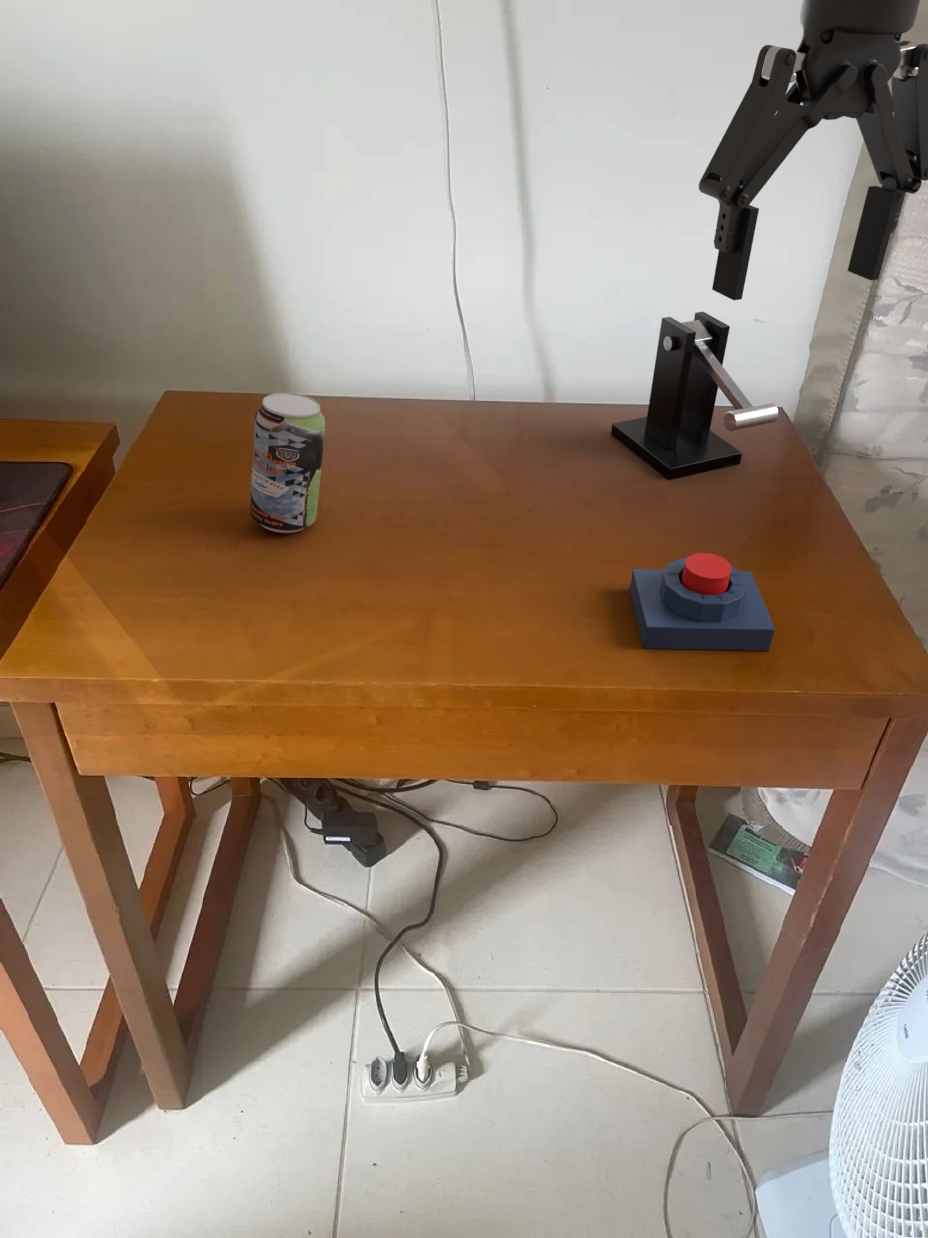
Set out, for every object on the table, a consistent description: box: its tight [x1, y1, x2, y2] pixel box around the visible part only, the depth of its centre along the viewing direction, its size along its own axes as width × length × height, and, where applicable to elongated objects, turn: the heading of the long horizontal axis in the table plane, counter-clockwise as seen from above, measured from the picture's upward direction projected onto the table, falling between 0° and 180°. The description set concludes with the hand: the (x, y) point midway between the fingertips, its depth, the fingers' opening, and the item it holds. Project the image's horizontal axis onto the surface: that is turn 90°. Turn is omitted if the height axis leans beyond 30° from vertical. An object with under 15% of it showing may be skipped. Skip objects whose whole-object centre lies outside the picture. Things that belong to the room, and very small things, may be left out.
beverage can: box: [249, 392, 326, 534], centre depth 87 cm, size 6×7×12 cm
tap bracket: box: [610, 311, 743, 480], centre depth 100 cm, size 11×9×14 cm
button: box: [682, 552, 732, 595], centre depth 78 cm, size 4×4×2 cm
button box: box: [629, 556, 776, 652], centre depth 79 cm, size 10×8×4 cm
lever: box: [681, 319, 779, 432], centre depth 95 cm, size 13×5×2 cm, turn 24°
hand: (796, 284), depth 77 cm, fingers open, 13 cm apart
